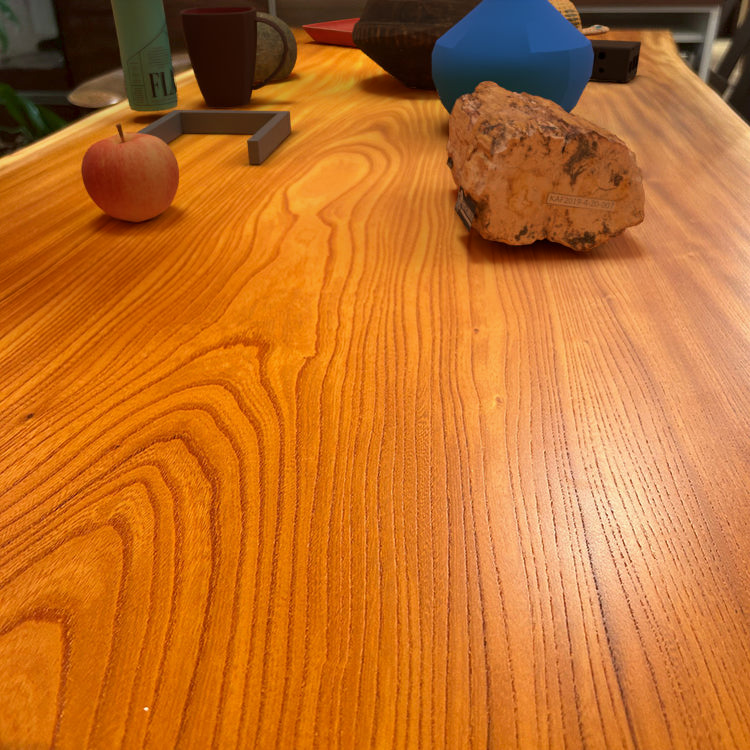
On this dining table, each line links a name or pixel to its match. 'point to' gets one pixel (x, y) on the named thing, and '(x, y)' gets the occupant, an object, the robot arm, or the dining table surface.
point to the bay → (227, 127)
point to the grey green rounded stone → (273, 49)
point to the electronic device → (615, 60)
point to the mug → (225, 52)
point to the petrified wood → (539, 172)
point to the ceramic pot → (407, 35)
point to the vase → (513, 53)
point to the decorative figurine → (576, 18)
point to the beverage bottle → (145, 54)
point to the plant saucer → (332, 32)
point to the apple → (131, 175)
